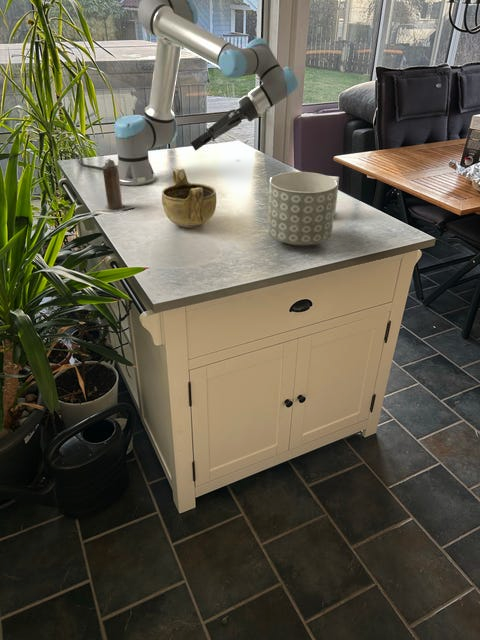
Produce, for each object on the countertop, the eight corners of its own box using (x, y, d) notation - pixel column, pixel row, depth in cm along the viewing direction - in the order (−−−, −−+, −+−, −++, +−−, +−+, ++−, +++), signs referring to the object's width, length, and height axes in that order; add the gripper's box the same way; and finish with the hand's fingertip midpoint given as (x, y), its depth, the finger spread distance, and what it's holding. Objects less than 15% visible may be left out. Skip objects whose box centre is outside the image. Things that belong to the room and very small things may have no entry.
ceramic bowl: (156, 215, 168) (152, 170, 160) (204, 209, 174) (203, 165, 166) (173, 240, 151) (170, 191, 143) (227, 233, 156) (226, 185, 148)
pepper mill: (105, 207, 175) (98, 159, 166) (117, 203, 177) (112, 156, 169) (112, 210, 171) (106, 162, 163) (125, 207, 174) (119, 159, 165)
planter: (272, 226, 161) (275, 169, 151) (332, 231, 158) (338, 174, 148) (262, 251, 145) (264, 189, 136) (328, 257, 142) (335, 194, 133)
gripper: (259, 110, 157) (196, 153, 160) (260, 119, 169) (202, 159, 173) (246, 89, 156) (183, 133, 159) (248, 99, 169) (190, 140, 172)
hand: (193, 146), depth 166 cm, fingers closed
